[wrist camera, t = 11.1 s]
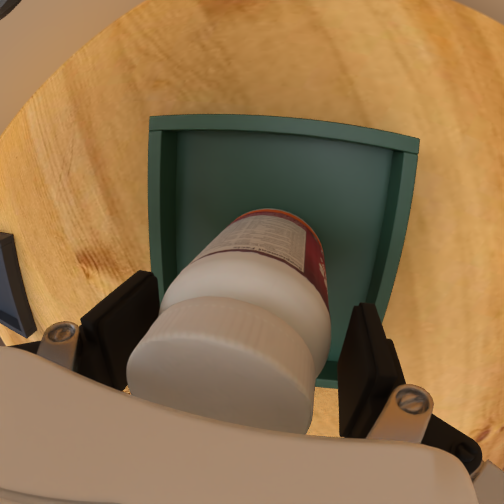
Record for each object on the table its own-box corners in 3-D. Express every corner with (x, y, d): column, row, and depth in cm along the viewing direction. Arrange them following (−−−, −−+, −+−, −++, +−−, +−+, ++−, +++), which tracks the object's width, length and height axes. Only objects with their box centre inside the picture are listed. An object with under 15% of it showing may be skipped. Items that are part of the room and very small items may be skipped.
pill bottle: (315, 310, 18) (307, 478, 7) (218, 296, 19) (133, 438, 8) (331, 212, 16) (368, 340, 5) (221, 199, 17) (88, 291, 6)
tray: (169, 119, 16) (149, 116, 14) (405, 139, 14) (420, 138, 12) (173, 339, 21) (160, 358, 19) (354, 367, 19) (357, 390, 17)
